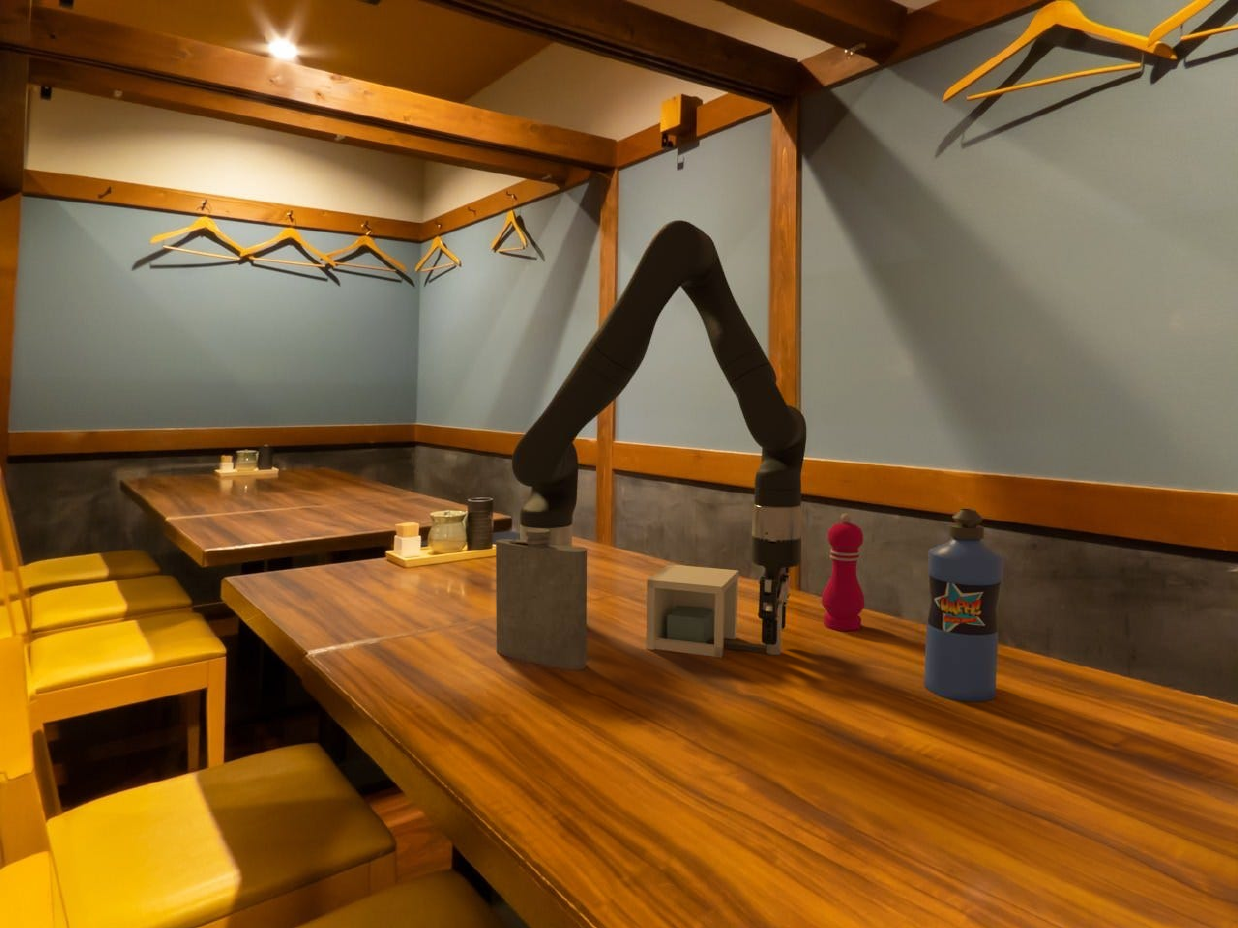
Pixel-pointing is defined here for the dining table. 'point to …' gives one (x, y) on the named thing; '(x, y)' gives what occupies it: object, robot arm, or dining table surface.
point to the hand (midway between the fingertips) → (773, 635)
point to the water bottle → (963, 613)
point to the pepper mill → (843, 578)
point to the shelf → (692, 605)
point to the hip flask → (541, 601)
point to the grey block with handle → (711, 629)
